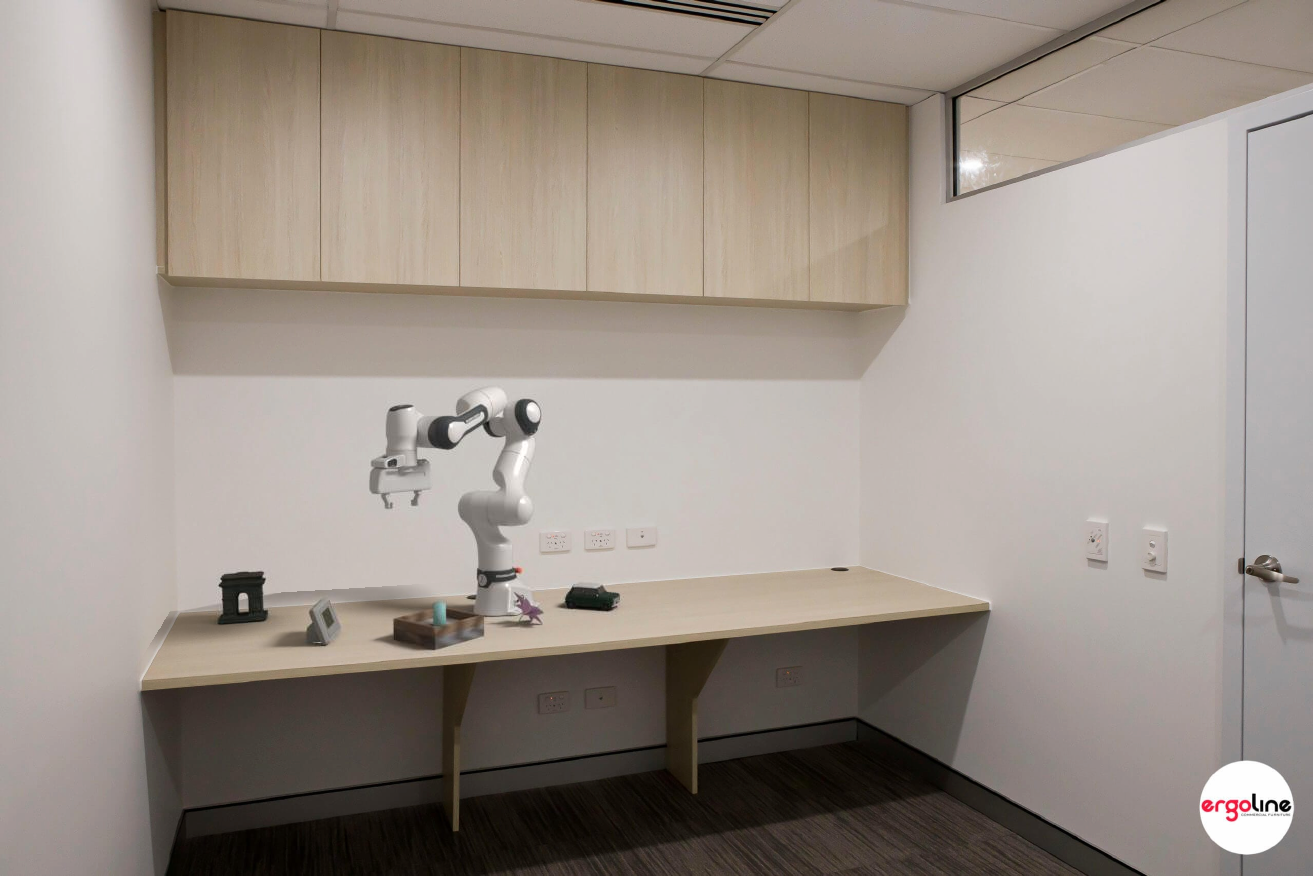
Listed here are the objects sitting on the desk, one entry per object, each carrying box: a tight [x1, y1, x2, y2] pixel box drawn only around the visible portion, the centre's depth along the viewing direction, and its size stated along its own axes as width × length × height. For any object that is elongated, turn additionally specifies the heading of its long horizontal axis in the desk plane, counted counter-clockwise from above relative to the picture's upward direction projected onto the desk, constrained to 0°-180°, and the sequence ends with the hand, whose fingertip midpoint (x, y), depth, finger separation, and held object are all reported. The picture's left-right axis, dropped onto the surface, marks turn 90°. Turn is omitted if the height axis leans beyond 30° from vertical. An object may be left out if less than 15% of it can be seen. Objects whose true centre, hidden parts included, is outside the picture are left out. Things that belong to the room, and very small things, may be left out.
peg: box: [432, 601, 447, 627], centre depth 250 cm, size 4×4×10 cm
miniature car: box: [563, 581, 621, 612], centre depth 288 cm, size 9×18×8 cm, turn 75°
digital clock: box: [306, 596, 342, 646], centre depth 248 cm, size 16×9×11 cm, turn 177°
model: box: [217, 570, 269, 625], centre depth 269 cm, size 14×9×15 cm, turn 112°
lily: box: [514, 592, 545, 628], centre depth 265 cm, size 12×12×10 cm
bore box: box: [392, 607, 485, 651], centre depth 250 cm, size 18×18×6 cm
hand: (402, 507), depth 255 cm, fingers open, 8 cm apart
